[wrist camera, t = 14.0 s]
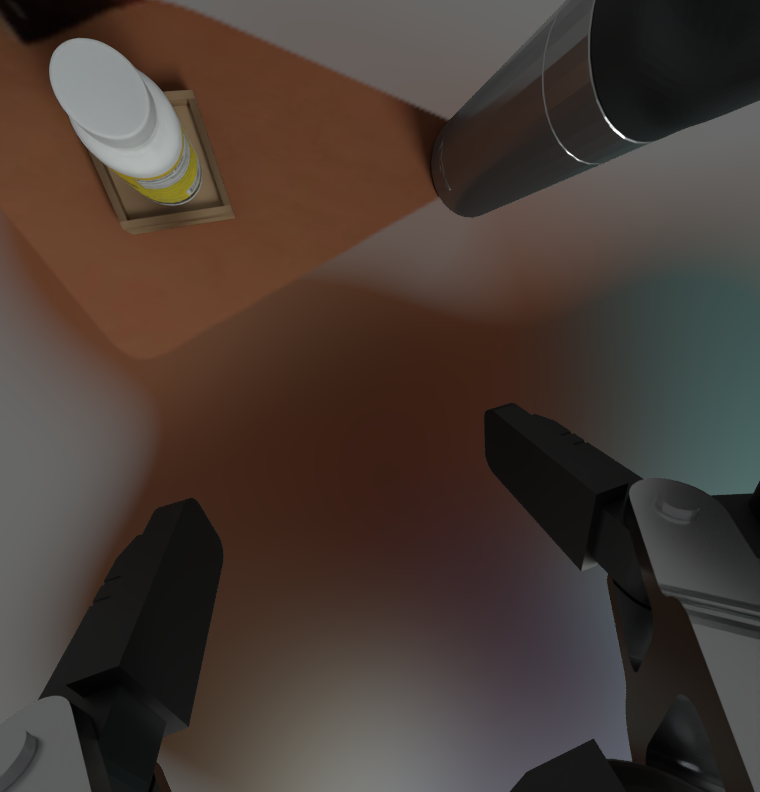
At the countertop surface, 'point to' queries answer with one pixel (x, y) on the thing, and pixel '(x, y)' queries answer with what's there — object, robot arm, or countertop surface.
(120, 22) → the countertop surface
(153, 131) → the supplement bottle
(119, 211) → the wooden tray
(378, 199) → the countertop surface
